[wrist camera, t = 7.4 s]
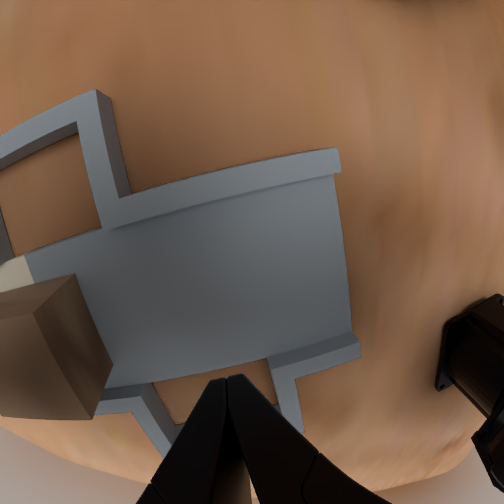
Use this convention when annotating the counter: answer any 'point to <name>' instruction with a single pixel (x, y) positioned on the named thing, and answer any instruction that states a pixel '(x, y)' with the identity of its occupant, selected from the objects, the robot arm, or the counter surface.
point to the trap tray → (196, 267)
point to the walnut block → (50, 353)
